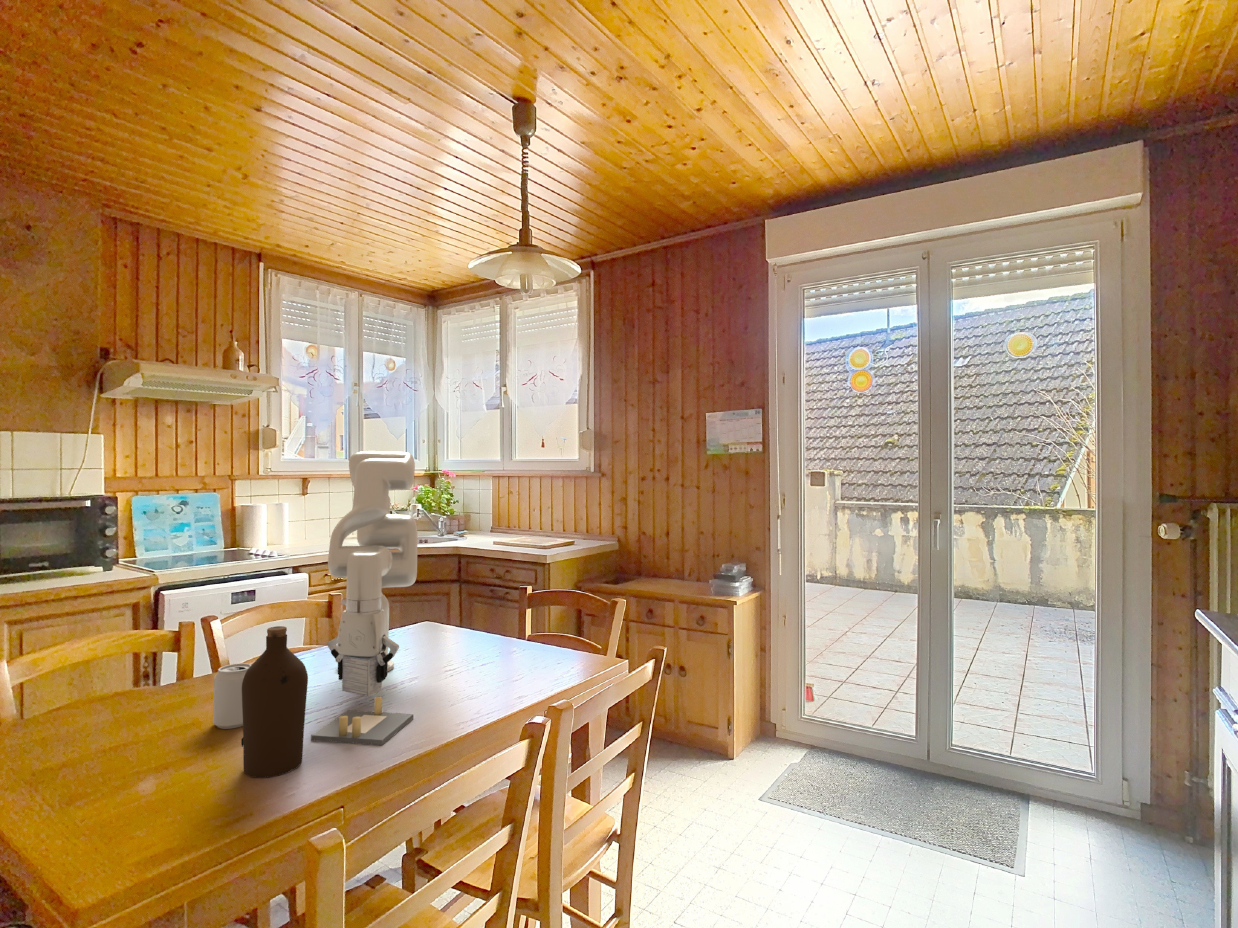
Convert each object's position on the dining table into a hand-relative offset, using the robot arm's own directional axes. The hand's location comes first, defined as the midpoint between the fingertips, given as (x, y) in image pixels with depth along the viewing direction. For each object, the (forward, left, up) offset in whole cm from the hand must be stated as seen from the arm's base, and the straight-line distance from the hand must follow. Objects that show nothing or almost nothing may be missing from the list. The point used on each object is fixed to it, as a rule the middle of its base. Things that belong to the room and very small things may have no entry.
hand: (362, 679), depth 148 cm
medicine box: (0, 0, -3) cm, 3 cm away
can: (-21, -15, -6) cm, 26 cm away
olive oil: (0, -32, -6) cm, 32 cm away
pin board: (+8, -13, -6) cm, 17 cm away
